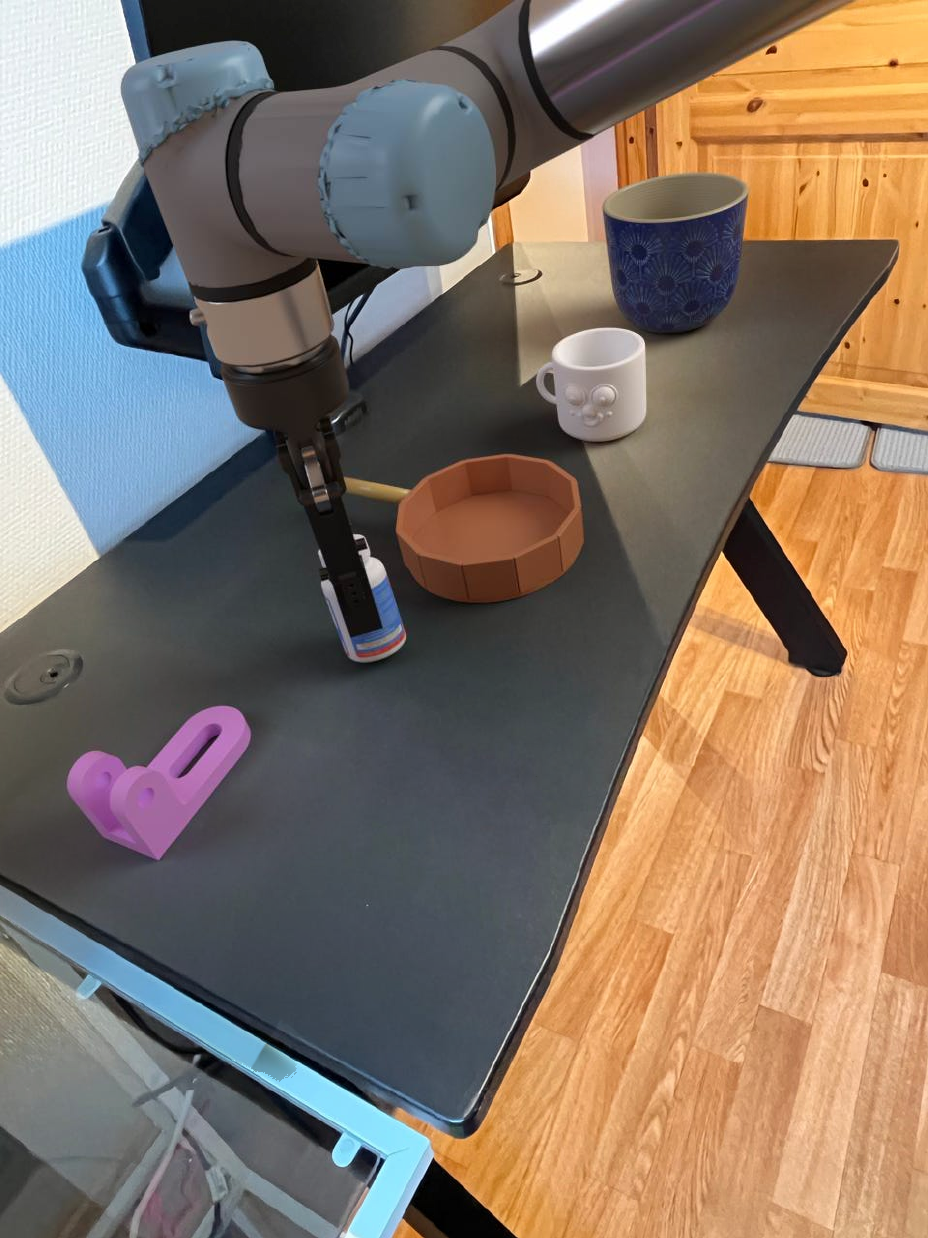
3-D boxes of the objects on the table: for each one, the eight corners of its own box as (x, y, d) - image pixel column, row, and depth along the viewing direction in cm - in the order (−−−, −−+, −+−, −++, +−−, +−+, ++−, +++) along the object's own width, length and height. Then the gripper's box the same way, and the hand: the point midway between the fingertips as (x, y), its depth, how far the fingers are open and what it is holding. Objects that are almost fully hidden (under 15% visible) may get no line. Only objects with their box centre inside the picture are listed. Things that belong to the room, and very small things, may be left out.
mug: (526, 447, 93) (516, 371, 87) (552, 400, 100) (544, 327, 94) (635, 452, 88) (632, 372, 82) (654, 403, 95) (653, 326, 89)
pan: (611, 510, 82) (609, 469, 79) (531, 622, 72) (525, 581, 69) (378, 465, 95) (369, 430, 92) (284, 555, 85) (270, 518, 82)
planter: (753, 292, 112) (761, 168, 102) (726, 351, 102) (732, 218, 92) (629, 291, 119) (625, 174, 109) (591, 345, 109) (583, 222, 99)
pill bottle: (420, 634, 72) (388, 532, 67) (379, 669, 69) (343, 564, 64) (374, 625, 75) (341, 527, 71) (333, 658, 72) (296, 557, 67)
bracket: (158, 860, 60) (115, 803, 55) (103, 837, 62) (57, 780, 58) (264, 726, 68) (234, 666, 63) (211, 710, 70) (179, 651, 66)
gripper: (214, 326, 56) (310, 593, 72) (220, 406, 47) (330, 696, 62) (322, 298, 57) (395, 569, 72) (351, 372, 47) (427, 667, 63)
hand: (365, 627), depth 67 cm, fingers closed
